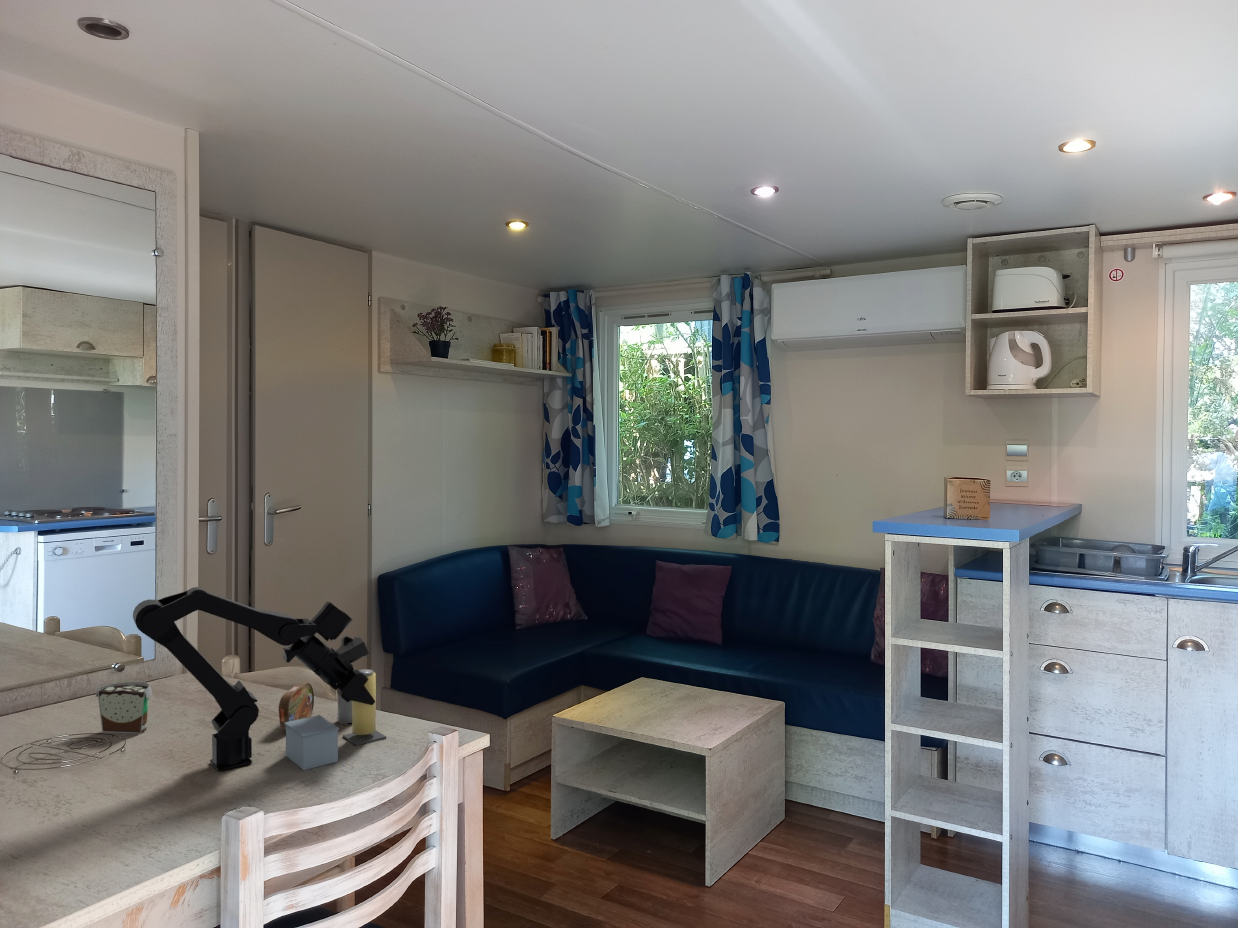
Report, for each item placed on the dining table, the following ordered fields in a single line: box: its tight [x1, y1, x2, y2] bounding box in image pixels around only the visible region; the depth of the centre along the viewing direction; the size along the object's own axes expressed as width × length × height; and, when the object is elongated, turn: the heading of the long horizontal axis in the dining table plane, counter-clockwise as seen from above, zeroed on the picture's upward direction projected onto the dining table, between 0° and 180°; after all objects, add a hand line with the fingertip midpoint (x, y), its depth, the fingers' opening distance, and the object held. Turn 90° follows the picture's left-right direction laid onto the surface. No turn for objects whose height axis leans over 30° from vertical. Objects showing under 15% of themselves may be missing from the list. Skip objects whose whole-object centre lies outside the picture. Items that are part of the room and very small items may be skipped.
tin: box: [278, 682, 315, 731], centre depth 198 cm, size 15×3×8 cm, turn 179°
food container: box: [95, 681, 153, 735], centre depth 194 cm, size 12×6×10 cm, turn 84°
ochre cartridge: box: [351, 668, 377, 735], centre depth 188 cm, size 5×5×13 cm
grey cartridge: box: [336, 693, 352, 725], centre depth 200 cm, size 5×5×10 cm
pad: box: [342, 730, 387, 746], centre depth 188 cm, size 7×7×1 cm
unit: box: [284, 714, 340, 771], centre depth 176 cm, size 7×10×7 cm
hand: (370, 700), depth 189 cm, fingers closed on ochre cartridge, 5 cm apart
